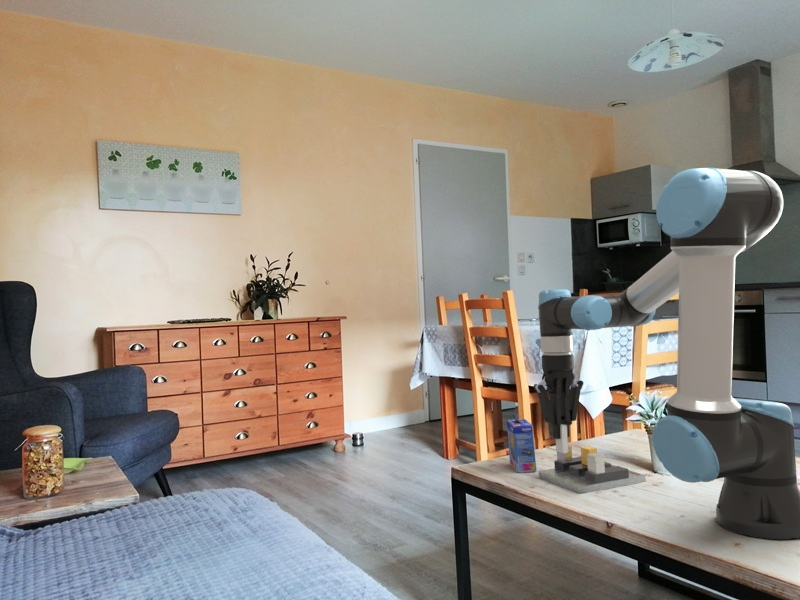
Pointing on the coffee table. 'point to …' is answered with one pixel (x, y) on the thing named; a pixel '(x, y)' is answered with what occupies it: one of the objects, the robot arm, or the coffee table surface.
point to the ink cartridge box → (521, 445)
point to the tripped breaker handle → (587, 451)
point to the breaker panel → (588, 484)
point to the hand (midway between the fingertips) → (562, 451)
